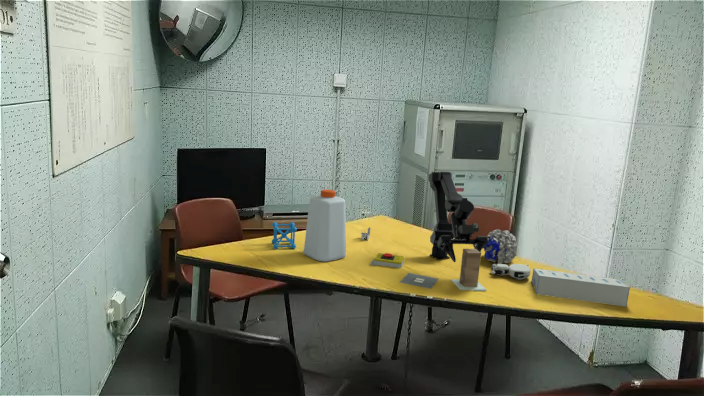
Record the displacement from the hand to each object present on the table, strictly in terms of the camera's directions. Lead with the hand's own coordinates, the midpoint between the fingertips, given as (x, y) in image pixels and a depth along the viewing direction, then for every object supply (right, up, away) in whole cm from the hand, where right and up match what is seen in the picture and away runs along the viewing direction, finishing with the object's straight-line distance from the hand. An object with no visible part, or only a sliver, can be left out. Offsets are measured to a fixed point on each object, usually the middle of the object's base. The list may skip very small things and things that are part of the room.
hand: (466, 262), depth 185 cm
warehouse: (+40, -12, -3) cm, 42 cm away
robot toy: (+20, -8, +12) cm, 25 cm away
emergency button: (-28, -4, +18) cm, 33 cm away
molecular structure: (-73, +2, +33) cm, 80 cm away
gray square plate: (-18, -7, -1) cm, 19 cm away
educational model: (+21, -4, +31) cm, 38 cm away
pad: (0, -9, -2) cm, 9 cm away
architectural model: (-40, +3, +48) cm, 63 cm away
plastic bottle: (-55, -1, +23) cm, 59 cm away
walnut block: (0, -8, -2) cm, 8 cm away
